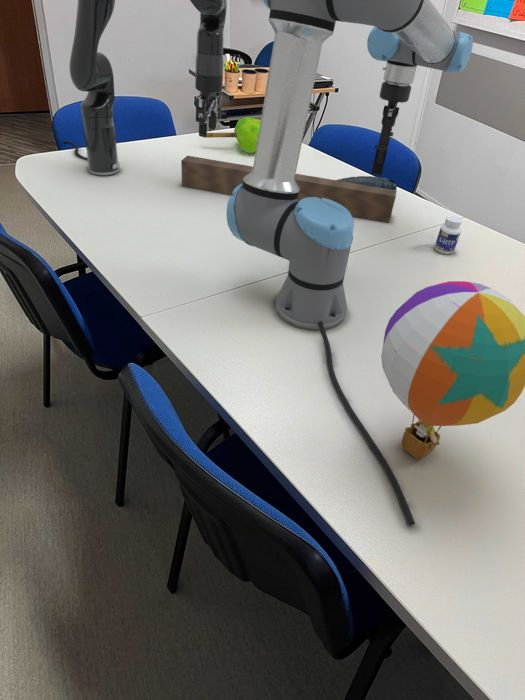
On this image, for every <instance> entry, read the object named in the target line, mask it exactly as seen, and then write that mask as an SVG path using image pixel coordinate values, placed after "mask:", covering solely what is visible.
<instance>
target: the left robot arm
mask: <svg viewBox="0 0 525 700" xmlns="http://www.w3.org/2000/svg"><path fill="white" fill-rule="evenodd" d="M189 1H190V3H191V4H192V5H193V7H194V8H195V9H196V10H197V11H198V12H199V14H200V17H199V26H198V28H197V34H196V56H195V77H194V79H195V82H194V85H195V86H194V87H195V89H196V91H199V92H200V93H201V94H200V97H199V98H196V100H195V123H198V136H199V137H202V138H204V137H206V136H207V133H208V129H211V130H216V128H217V118H218V117H217V116H218V114H219V112H220V110H221V92H222V91H223V84H224V83H223V82H224V81H223V80H224V32H225V31H224V30H225V25H226V18H227V9H228V8H227V7H228V0H189ZM115 5H116V0H77V6H76V7H77V8H76V16H75V26H74V36H73V40H72V41H73V42H72V47H71V52H70V59H69V65H68V66H69V76H70V79H71V82H72V84H73V85H74V87H75V88H76V89H77V90H78V91H80V92H87V94H86V97H85V98H84V99H83V100H82V102H81V103H80V115H81V122H82V128H83V137H84V144H85V153H86V156H83V155H82V154H80V153H79V152H78V151H79V146H78V145H77V144H75V142H72V141H70V140H64V141H63V142H62V145H63V146H64V145H65V146H66V145H67V144H69V145H71V146H72V147H74V148H75V149H74V154H75V156H77V157H78V158H79V159H82V160H84V161H87V165H88V167H87V168H88V172H89V173H90V174H91V175H95V176H113V175H115V174H117V173H119V172H120V162H119V158H118V148H117V138H116V129H115V128H116V127H115V117H114V106H115V103H116V102H115V101H116V97H115V79H114V78H115V77H114V71H113V67H112V63H111V61H110V60H109V58H108V57H107V56H106V55H105V54H104V53H102V52H99V51H98V49H99V44H100V40H101V37H102V35H103V33H104V31H105V30H106V27H107V26H108V24H109V21H110V20H111V17H112V15H113V13H114V10H115Z"/></svg>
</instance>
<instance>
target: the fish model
mask: <svg viewBox="0 0 525 700" xmlns="http://www.w3.org/2000/svg"><path fill="white" fill-rule="evenodd" d="M336 180H337V181H343V182H349V183H355V184H361V185H367V186H373V187H379V188H385V189H391V190H397V188H398V187H397V185H396V184H395V183H396V180H394V179H390V178H387V177H381V176H380V177H379V176H370V175H369V176H368V175H367V176H366V175H360V176H359V175H358V176H349V177H344V178H343V177H342V178H337V179H336Z"/></svg>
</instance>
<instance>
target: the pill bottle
mask: <svg viewBox="0 0 525 700" xmlns="http://www.w3.org/2000/svg"><path fill="white" fill-rule="evenodd" d="M462 222H463V219H461V218H460V217H458V216H455V215H448V216H446V218H445V220H444V223H443V224H442V225H440V228H439V231H438V234H437V237H436V240H435V243H434V250H435V251H437V252H439V253H441V254H447V255H449V254H453V253H454V252H455V250H456V247H457V244H458V242H459V239H460V236H461V233H462V229H461V225H462Z"/></svg>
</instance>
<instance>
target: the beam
mask: <svg viewBox="0 0 525 700" xmlns="http://www.w3.org/2000/svg"><path fill="white" fill-rule="evenodd" d="M180 162H181V166H180V167H181V187H184V188H189V189H196V190H200V191H201V190H202V191H207V192H213V193H217V194H219V193H220V194H225V195H230V196H232V195H233V194H232V192H233V190H234V189H235V188H236V187H237V186H238V185H240V184H243V179H244V177H245V176H246V175H248V174H249V173H250V172H252V170H253V165H247V164H240V163H234V162H229V161H222V160H216V159H211V158H204V157H198V156H192V155H186V156H185V157H183V159H181V161H180ZM337 180H338V179H331V178H324V177H318V176H312V175H307V174H301V173H296V174H295V181H296V183H297V185H298V186H299V188H300V191H299V196H298V201H300V200H302V199H303V198H307V197H318V198H320V199H322V198H325V199H329V200H332V201H334V202H337V203H338V204H340V205H342V206H343V207H345V208H346V209H347V210H348V211H349V212H350V214H351V215H352V217H354V218H360V219H365V220H370V221H371V220H372V221H377V222H383V223H388V224H390V222H391V218H392V213H393V211H394V210H393V209H394V207H395V202H396V197H397V189H396V190H391V189H385V188H379V187H373V186H367V185H361V184H355V183H349V182H343V181H337Z"/></svg>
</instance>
